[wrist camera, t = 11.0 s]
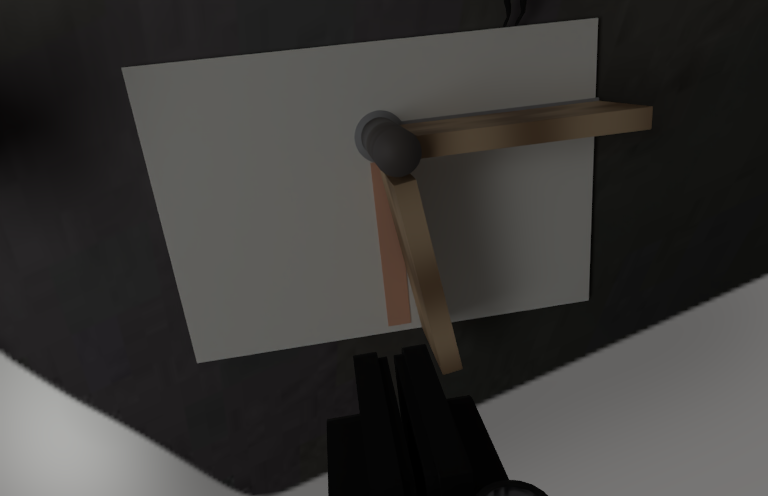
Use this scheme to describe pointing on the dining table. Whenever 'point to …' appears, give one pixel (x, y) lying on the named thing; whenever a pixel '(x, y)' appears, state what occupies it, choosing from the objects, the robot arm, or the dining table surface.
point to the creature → (508, 10)
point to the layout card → (363, 184)
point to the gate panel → (422, 268)
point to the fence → (495, 132)
